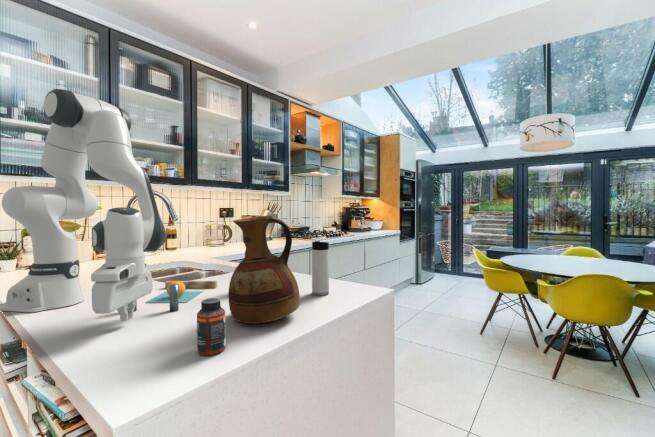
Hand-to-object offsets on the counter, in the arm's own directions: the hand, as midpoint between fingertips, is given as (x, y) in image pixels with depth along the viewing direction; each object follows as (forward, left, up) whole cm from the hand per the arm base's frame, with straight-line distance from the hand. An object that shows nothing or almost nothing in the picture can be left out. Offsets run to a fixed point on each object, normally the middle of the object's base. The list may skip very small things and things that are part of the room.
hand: (126, 319), depth 84 cm
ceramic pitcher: (+36, +6, -2) cm, 37 cm away
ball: (+1, +27, +1) cm, 27 cm away
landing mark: (0, +28, -2) cm, 28 cm away
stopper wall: (0, +42, -2) cm, 42 cm away
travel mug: (+52, +31, -2) cm, 61 cm away
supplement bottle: (+28, -15, -2) cm, 32 cm away
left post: (-7, +13, -2) cm, 15 cm away
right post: (+6, +13, -2) cm, 15 cm away
